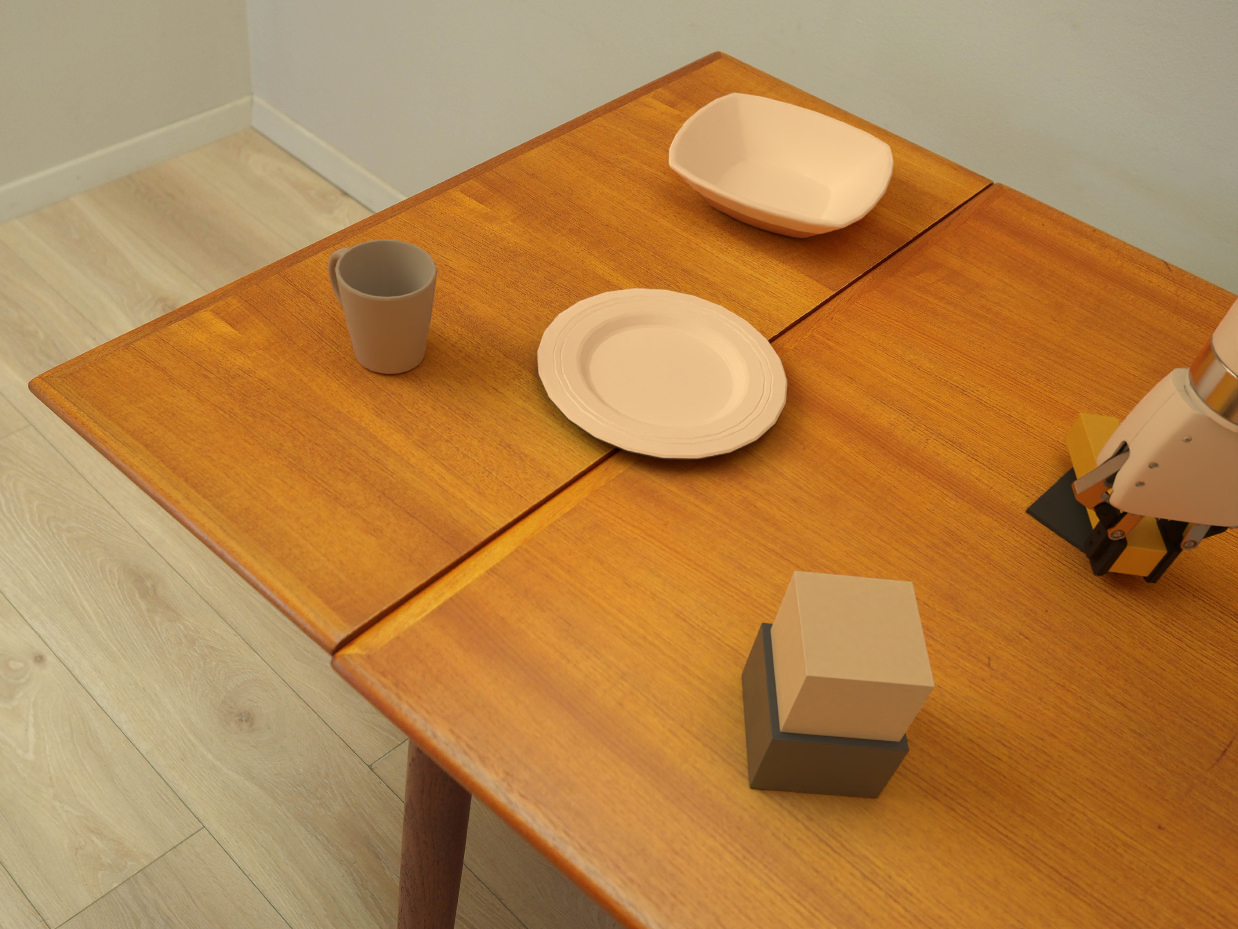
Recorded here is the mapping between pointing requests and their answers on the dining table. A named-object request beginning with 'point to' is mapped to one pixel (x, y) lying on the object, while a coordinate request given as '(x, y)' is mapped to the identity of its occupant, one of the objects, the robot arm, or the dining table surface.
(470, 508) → the dining table surface
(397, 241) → the cup
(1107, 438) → the bar
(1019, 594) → the dining table surface
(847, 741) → the tower
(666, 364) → the plate
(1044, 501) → the mat
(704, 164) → the bowl
